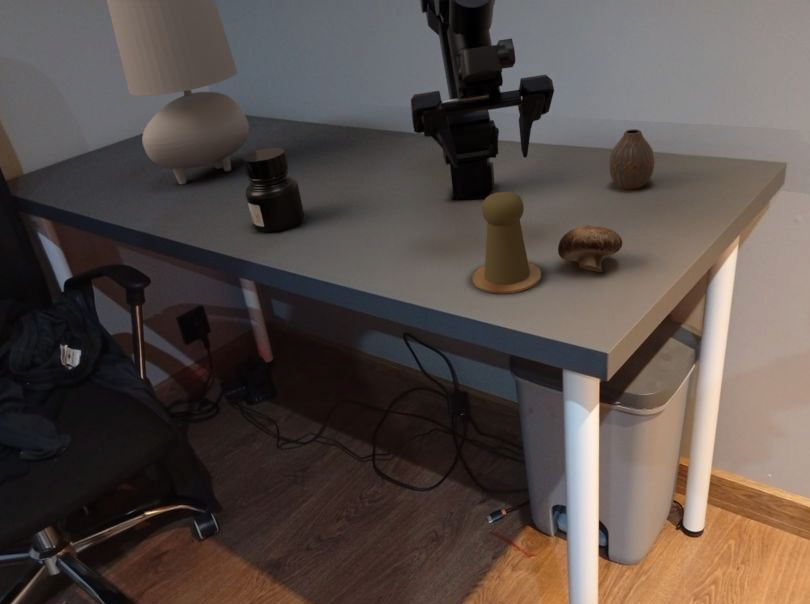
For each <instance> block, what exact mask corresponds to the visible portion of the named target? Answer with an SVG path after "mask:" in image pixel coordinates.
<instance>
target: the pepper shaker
mask: <svg viewBox="0 0 810 604" xmlns="http://www.w3.org/2000/svg"><path fill="white" fill-rule="evenodd" d="M524 208H525V207H524V203H523V199H522V198H521V196H520V195H519V194H517V193H514V192H512V191H499V192H498V191H497V192H495V193H492V194H491V193H490V196H488V197H487V198H484V200H483V202H482V206H481V212H482V216H483V219H484V220H485V221H486V222H487V225H486V239H485V255H484V266H485V270H484V277H485V279H486V280H487V281H488V282H490V283H493V284H498V285H509V284H515V283H519V282H521V281H524V280H525V279H527V278H528V277H529V275H530V270H529V265H528V262H529V260H528V255H527V250H526V245H525V240H524V235H523V229H522V224H521V218H522V216H523V215H524V211H525V210H524Z"/></svg>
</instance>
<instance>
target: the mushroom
mask: <svg viewBox="0 0 810 604" xmlns="http://www.w3.org/2000/svg"><path fill="white" fill-rule="evenodd" d="M622 247H623V239H622V237H621V236H620V235H619V233H617V232H616V231H615V230H613V229H611V228H608V227H605V226H600V225H591V224H587V225H586V224H585V225H579V226H577V227H574V228H572V229H570V230H569V231H568V232H567V233H565V234H564V235H563V236H562V237H561V239H560V240H559V243H558V247H557V253H558V256H559V257H560V258H561V259H563V260H566V261H574V262H576V263H577V264H578V267H580V268H582V269H585V270H587V271H592V272H597V273H601V272H603V269H602V263H603V260H605V259H606V258H607V257H610V256H611V255H614V254H616V253H617V252H619V251H620V250H621V248H622Z"/></svg>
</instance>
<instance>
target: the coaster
mask: <svg viewBox="0 0 810 604" xmlns="http://www.w3.org/2000/svg"><path fill="white" fill-rule="evenodd" d="M528 265H529V270H530V275H529V277H528V278H527V279H525V280H524V281H521V282H519V283H515V284H509V285H498V284H493V283H490V282H488V281H487V280H486V279H485V277H484V270H485V265H483V266H480V267H479V268H478V269H477V270H476V271H475V272H474V273H473V275H472V282H473V285H474V287H476V288H477V289H479V290H480V291H482V292H486V293H490V294H499V295H501V294H502V295H507V294H514V293H520V292H524V291H527V290H529V289H531V288H533V287H534V286H536V285H537V284H539V282H540V281H541V279H542V271H541V269H540V268H539V267H538V266H537V265H536V264H534V263H532V262H529V261H528Z"/></svg>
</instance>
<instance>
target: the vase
mask: <svg viewBox="0 0 810 604" xmlns="http://www.w3.org/2000/svg"><path fill="white" fill-rule="evenodd" d="M655 162H656V161H655V154H654V150H653V147H652V146H651V145H650V143H649V142H648V140H646V139H645V137H644V135H643V133H642V130H640V129H636V128H631V129H627V130H625V131H624V132H623V134H622V136H621V138H620V140H619V141H617V143H616V145H614V147H613V148H612V151H611V153H610V157H609V162H608V163H609V164H608V165H609V166H608V167H609V168H608V169H609V174H610V178H611V180H612V181H613V183H614V184H615V185H616V186H617V187H618V188H620V189H622V190H623V189H624V190H637V189H640V188H643V187H644V186H645V185H646V184H647V183H648V182H649V181H650V180H651V178H652V176H653V173H654V170H655Z"/></svg>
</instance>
